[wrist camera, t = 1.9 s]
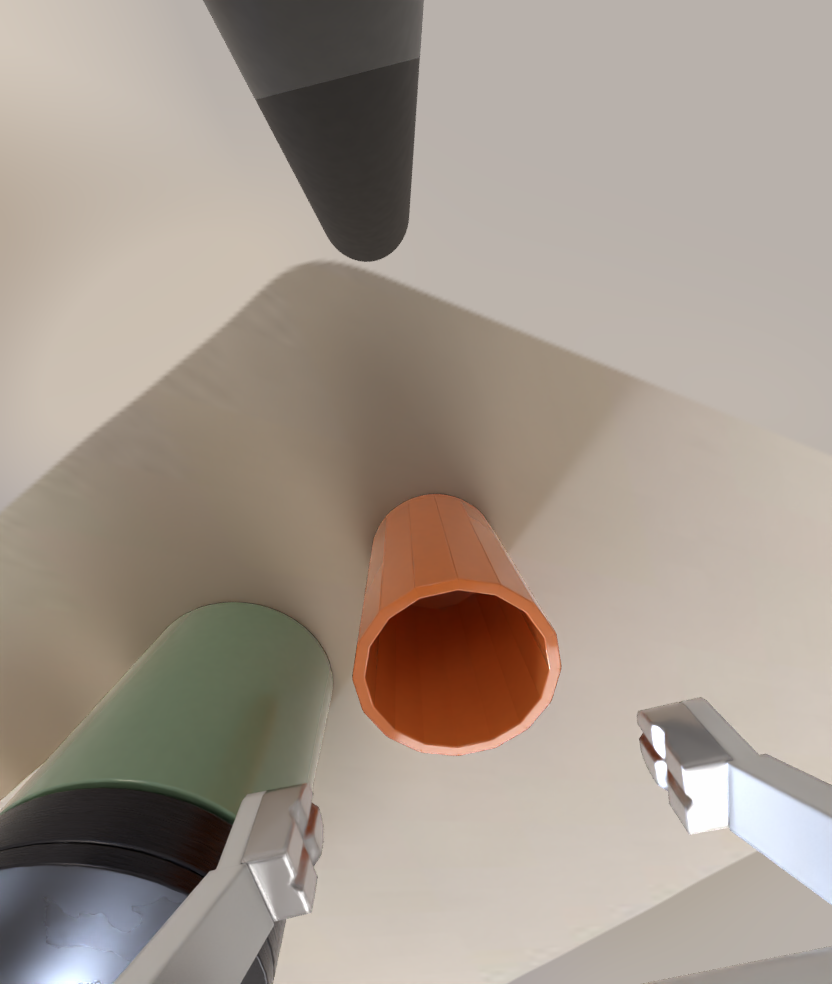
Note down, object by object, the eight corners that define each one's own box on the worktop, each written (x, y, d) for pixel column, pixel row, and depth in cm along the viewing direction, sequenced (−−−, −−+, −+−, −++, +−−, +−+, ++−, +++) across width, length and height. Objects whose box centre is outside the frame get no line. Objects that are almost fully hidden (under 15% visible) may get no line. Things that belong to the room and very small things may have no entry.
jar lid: (-109, 826, 12) (-204, 911, 10) (224, 753, 12) (191, 827, 10) (51, 1028, 15) (-1, 1125, 13) (324, 972, 15) (313, 1062, 13)
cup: (357, 509, 21) (328, 607, 12) (483, 480, 21) (545, 558, 12) (388, 619, 22) (382, 773, 14) (505, 593, 22) (572, 732, 14)
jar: (118, 624, 22) (-171, 884, 11) (302, 582, 22) (201, 803, 11) (189, 768, 25) (17, 1093, 14) (353, 732, 24) (315, 1033, 13)
